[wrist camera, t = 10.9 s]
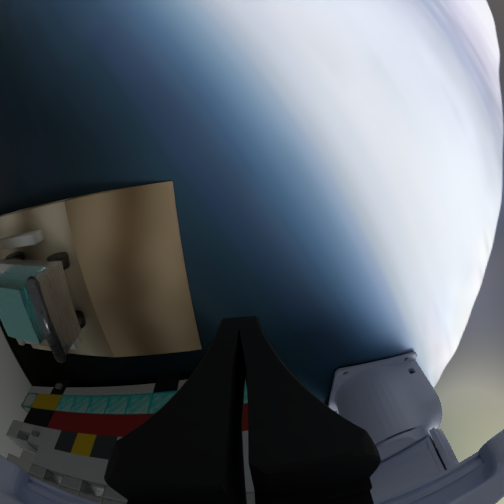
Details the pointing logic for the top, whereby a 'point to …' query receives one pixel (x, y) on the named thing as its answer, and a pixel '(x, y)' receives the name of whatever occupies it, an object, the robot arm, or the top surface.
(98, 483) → the toy vehicle
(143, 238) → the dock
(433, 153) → the top surface
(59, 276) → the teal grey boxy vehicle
